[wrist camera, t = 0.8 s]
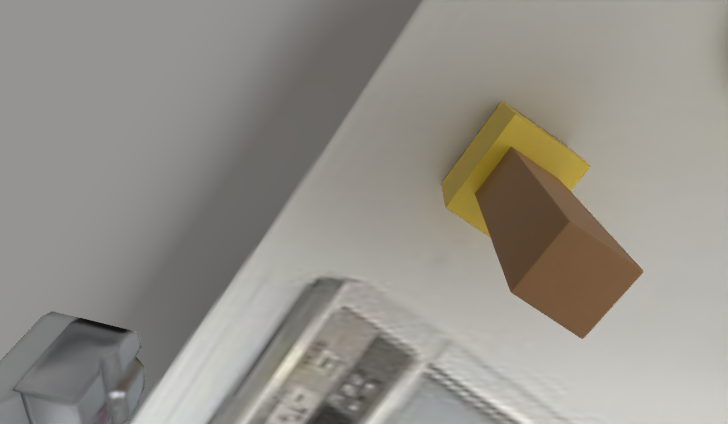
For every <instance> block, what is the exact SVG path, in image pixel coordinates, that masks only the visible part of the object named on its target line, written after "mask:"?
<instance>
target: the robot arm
mask: <svg viewBox="0 0 728 424" xmlns="http://www.w3.org/2000/svg"><path fill="white" fill-rule="evenodd" d="M140 349H141V341H140V336H139V333H137V332H134V331H131V330H127V329H123V328H119V327H115V326H111V325H107V324H103V323H99V322H95V321H91V320H87V319H83V318H78V317H73V316H69V315H65V314H60V313H56V312H50V313H48V314H46V315H44V316H42V317H41V318H40V319H39V320H38V321H37V322H36V323H35V324H34V325H33V326H32V328H31V329H30V330H29V331H28V332H27V333H26V334H25V335H24V336H23V337H22V338H21V340H19V341H18V343H17V344H16V345H15V346H14V347H13V348H12V349H11V350H10V351H9V352H8V353H7V354H6V355H5V357H4V358H3V359H2V360H1V361H0V424H124V423H125V422H127V421H129V420H130V418H131V416H132V415H133V413H134V411H135V410H136V408H137V406H138V404H139V401H140V399H141V395H142V393H143V390H144V384H145V369H144V365H143V364H142V363H141V362H140V360H139V359H138V358H137V357H136V355H137V353H138V352H139V350H140Z"/></svg>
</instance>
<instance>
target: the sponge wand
mask: <svg viewBox="0 0 728 424" xmlns="http://www.w3.org/2000/svg"><path fill="white" fill-rule="evenodd" d="M589 168H590V165H589V164H588V163H587V162H585V161H584V160H583V159H582V158H581V157H579V156H578V155H577V154H576V153H575V152H573V151H572V150H571V149H570V148H569V147H567V146H566V145H564V144H563V143H562V142H560V141H559V140H557V139H556V138H554V137H553V136H552V135H550V134H549V133H547V132H546V131H544V130H543V129H541V128H540V127H539V126H537V125H536V124H534V123H533V122H531V121H530V120H529V119H527V118H526V117H524V116H523V115H521V114H520V113H519V112H517V111H516V110H514V109H513V108H511V107H510V106H509V105H507V104H506V103H504V102H501V103H500V104H499V106H498V107H497V108H496V110H495V111H494V112H493V114H492V115H491V116H490V118H489V119H488V121H487V122H486V123H485V125H484V126H483V127H482V129H481V130H480V131H479V133H478V134H477V135H476V137H475V138H474V140H473V141H472V142H471V144H470V145H469V146H468V148H467V149H466V150H465V152H464V153H463V155H462V156H461V157H460V159H459V160H458V161H457V163H456V164H455V165H454V167H453V168H452V169H451V171H450V172H449V174H448V175H447V176H446V178H445V179H444V180H443V182H442V183H441V186H442V191H443V196H444V202H445V207H446V208H447V209H449V210H450V211H452V212H453V213H455V214H456V215H458V216H459V217H461V218H462V219H464V220H465V221H467V222H468V223H470V224H471V225H473V226H474V227H476V228H477V229H479V230H480V231H482V232H483V233H485V234H486V235H488V236H489V237H491V240H492V242H493V245H494V248H495V251H496V253H497V256H498V259H499V261H500V264H501V267H502V270H503V272H504V275H505V278H506V280H507V283H508V286H509V289H510V291H511V293H513V294H514V295H516V296H517V297H519V298H520V299H522V300H523V301H525V302H527V303H528V304H530V305H531V306H533V307H534V308H536V309H537V310H539V311H540V312H542V313H543V314H545V315H546V316H548V317H549V318H551V319H552V320H554V321H556V322H557V323H559V324H560V325H562V326H563V327H565V328H566V329H568V330H569V331H571V332H572V333H574V334H575V335H577V336H578V337H580V338H582V339H583V338H584V337H585V336H586V335H587V334H588V333H589V332H590V331H591V330H592V328H593V327H594V326H595V325H596V324H597V323H598V322H599V321H600V320H601V318H602V317H603V316H604V315H605V314H606V313H607V312H608V311H609V310H610V308H611V307H612V306H613V305H614V304H615V303H616V302H617V301H618V300H619V298H620V297H621V296H622V295H623V294H624V293H625V292H626V291H627V290H628V289H629V287H630V286H631V285H632V284H633V283H634V282H635V281H636V280H637V279H638V277H639V276H640V275H641V274H642V273H643V270H642V269H641V268H640V267H639V265H638V264H637V263H636V262H635V261H634V260H633V259H632V258H631V257H630V256H629V255H628V254H627V252H626V251H625V250H624V249H623V248H622V247H621V246H620V245H619V244H618V243H617V242H616V240H615V239H614V238H613V237H612V236H611V235H610V234H609V233H608V232H607V231H606V230H605V229H604V227H603V226H602V225H601V224H600V223H599V222H598V221H597V220H596V219H595V218H594V217H593V215H592V214H591V213H590V212H589V211H588V210H587V209H586V208H585V207H584V206H583V205H582V203H581V202H580V201H579V200H578V199H577V198H576V197H575V196H574V195H573V194H572V193H571V192H570V191H571V190H572V188H573V187H574V186H575V185H576V183H577V182H578V181H579V180H580V179H581V177H582V176H583V175H584V174H585V172H586V171H587V170H588V169H589Z"/></svg>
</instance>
